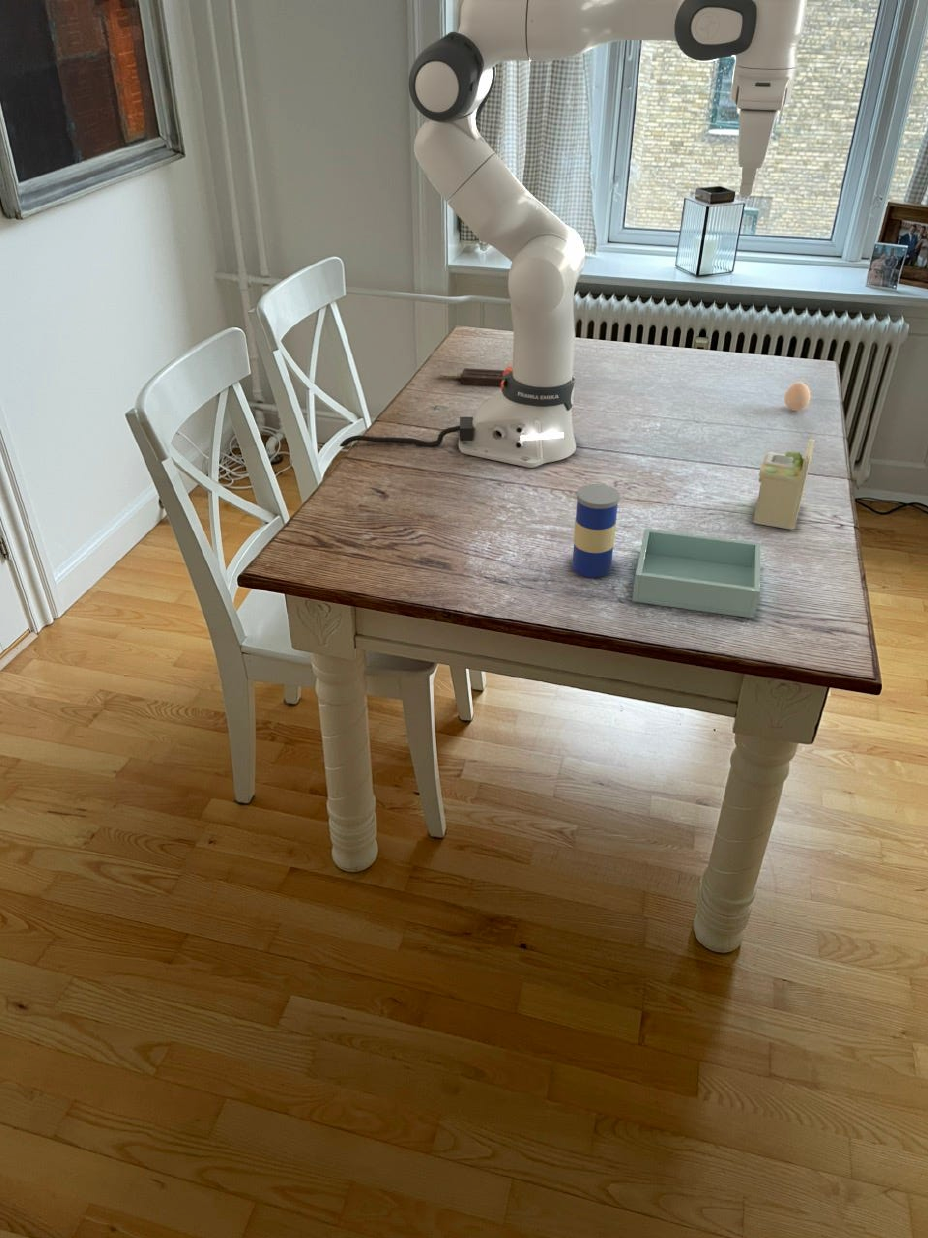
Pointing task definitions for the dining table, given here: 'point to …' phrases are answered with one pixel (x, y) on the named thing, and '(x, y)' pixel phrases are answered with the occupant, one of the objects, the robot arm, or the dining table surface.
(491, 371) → the ice cream bar
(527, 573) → the dining table surface
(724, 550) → the green tray
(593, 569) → the snack tube
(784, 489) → the toy sink
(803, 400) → the egg
